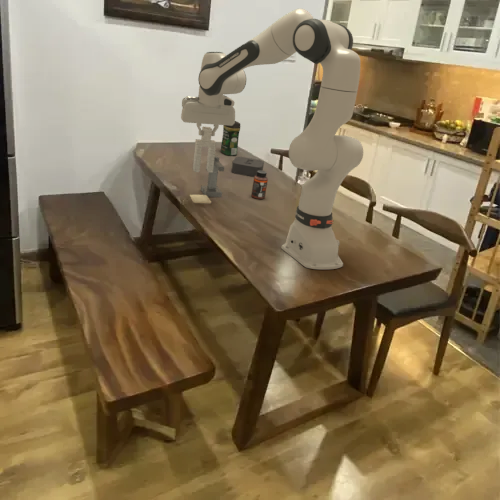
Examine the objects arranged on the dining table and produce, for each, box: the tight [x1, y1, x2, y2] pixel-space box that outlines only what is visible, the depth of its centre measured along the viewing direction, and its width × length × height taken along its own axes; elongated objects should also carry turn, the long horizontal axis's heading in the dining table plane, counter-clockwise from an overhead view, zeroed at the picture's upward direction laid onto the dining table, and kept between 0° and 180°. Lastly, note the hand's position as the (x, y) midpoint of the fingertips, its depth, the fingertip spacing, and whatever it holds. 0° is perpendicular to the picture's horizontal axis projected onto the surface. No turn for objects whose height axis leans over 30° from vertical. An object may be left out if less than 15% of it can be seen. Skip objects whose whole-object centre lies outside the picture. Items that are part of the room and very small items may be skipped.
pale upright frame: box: [192, 126, 217, 173], centre depth 188 cm, size 3×7×17 cm, turn 109°
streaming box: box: [230, 156, 265, 178], centre depth 241 cm, size 14×14×5 cm
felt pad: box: [189, 194, 212, 204], centre depth 196 cm, size 8×7×1 cm
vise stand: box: [200, 154, 225, 198], centre depth 199 cm, size 15×7×16 cm, turn 19°
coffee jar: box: [220, 120, 241, 157], centre depth 264 cm, size 10×8×19 cm
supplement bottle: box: [251, 170, 269, 200], centre depth 207 cm, size 6×6×11 cm
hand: (206, 135), depth 185 cm, fingers closed on pale upright frame, 3 cm apart
